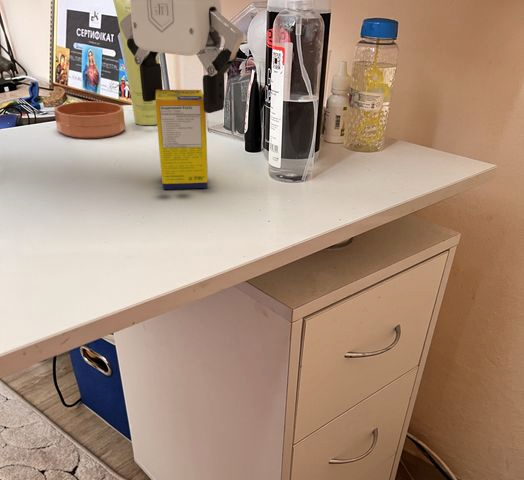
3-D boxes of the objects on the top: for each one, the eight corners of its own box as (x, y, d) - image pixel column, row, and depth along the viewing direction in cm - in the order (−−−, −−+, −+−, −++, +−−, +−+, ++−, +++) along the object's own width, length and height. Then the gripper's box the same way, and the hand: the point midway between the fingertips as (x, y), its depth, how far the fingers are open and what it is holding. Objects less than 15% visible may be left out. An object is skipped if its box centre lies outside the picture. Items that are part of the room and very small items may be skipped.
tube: (147, 128, 93) (135, -6, 82) (125, 123, 95) (111, -8, 84) (168, 122, 97) (160, -7, 85) (147, 117, 99) (136, -9, 88)
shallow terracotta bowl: (46, 136, 87) (41, 113, 85) (75, 120, 95) (72, 99, 93) (110, 141, 86) (107, 118, 83) (134, 125, 94) (132, 104, 92)
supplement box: (204, 174, 74) (202, 88, 68) (208, 189, 70) (206, 98, 63) (161, 175, 73) (154, 88, 67) (162, 190, 69) (155, 98, 62)
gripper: (87, -73, 57) (110, 100, 67) (217, -74, 49) (221, 121, 59) (136, -69, 62) (151, 91, 72) (261, -69, 55) (257, 110, 65)
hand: (182, 105), depth 66 cm, fingers open, 9 cm apart
